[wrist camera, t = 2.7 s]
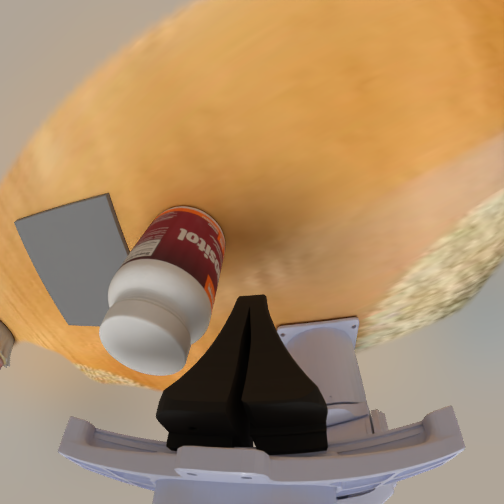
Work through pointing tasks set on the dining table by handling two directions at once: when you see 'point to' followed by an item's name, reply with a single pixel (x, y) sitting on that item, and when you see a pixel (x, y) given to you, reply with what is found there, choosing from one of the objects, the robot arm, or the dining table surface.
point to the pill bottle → (164, 292)
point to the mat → (76, 255)
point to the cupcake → (5, 345)
